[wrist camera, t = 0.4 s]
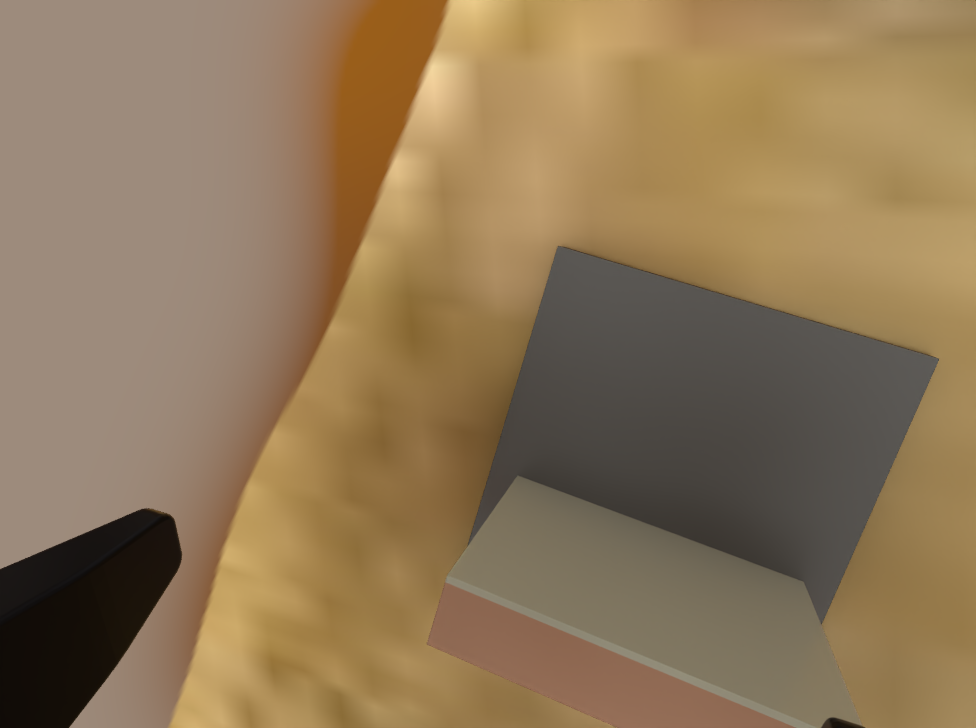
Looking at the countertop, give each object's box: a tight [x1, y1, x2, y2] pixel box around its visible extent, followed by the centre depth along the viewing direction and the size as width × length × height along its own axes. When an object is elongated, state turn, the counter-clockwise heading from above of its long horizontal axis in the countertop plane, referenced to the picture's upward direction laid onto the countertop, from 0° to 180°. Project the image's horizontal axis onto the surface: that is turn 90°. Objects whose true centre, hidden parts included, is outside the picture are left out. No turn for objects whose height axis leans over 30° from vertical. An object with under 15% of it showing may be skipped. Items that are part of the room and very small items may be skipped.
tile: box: [427, 476, 862, 728], centre depth 20 cm, size 2×10×8 cm, turn 73°
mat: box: [467, 246, 939, 625], centre depth 23 cm, size 13×12×1 cm
